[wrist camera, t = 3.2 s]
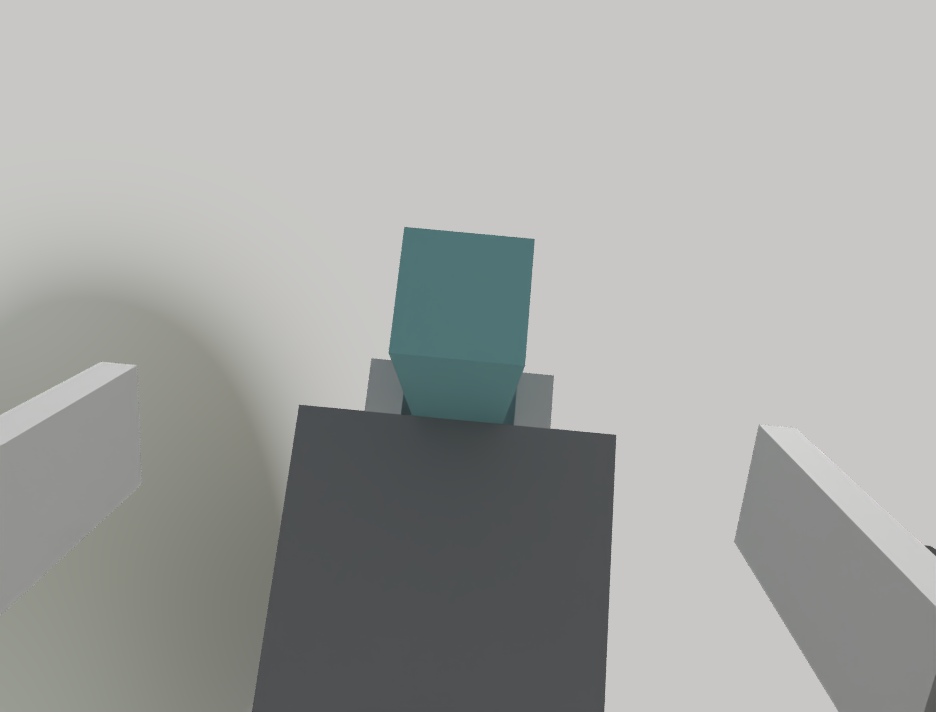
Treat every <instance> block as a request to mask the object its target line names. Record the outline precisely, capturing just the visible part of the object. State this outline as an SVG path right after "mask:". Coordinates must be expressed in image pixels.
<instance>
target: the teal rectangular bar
mask: <svg viewBox="0 0 936 712" xmlns="http://www.w3.org/2000/svg"><path fill="white" fill-rule="evenodd" d="M533 253H534V239H527V238H517V237H506V236H495V235H485V234H474V233H463V232H452V231H441V230H430V229H419V228H408V227H405V228H404V235H403V243H402V252H401V259H400V267H399V275H398V283H397V291H396V299H395V307H394V315H393V323H392V331H391V339H390V347H389V355H390V357H391V360H392V363H393V366H394V368H395V371H396V374H397V376H398V379H399V382H400V384H401V387H402V390H403V393H404V395H405V398H406V401H407V403H408V406H409V409H410V411H411V414H412V416H422V417H432V418H443V419H453V420H464V421H474V422H485V423H495V424H503V422H504V419H505V417H506V414H507V411H508V409H509V406H510V403H511V401H512V398H513V396H514V393H515V390H516V388H517V385H518V382H519V380H520V377H521V375H522V372H523V369H524V367H525V358H526V344H527V330H528V318H529V305H530V292H531V278H532V266H533Z"/></svg>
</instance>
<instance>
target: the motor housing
mask: <svg viewBox="0 0 936 712" xmlns="http://www.w3.org/2000/svg"><path fill="white" fill-rule="evenodd" d="M553 379H554V376H552V375H542V374H531V373H522V375H521V377H520V380H519V382H518V385H517V388H516V390H515V393H514V396H513V398H512V401H511V403H510V406H509V409H508V411H507V414H506V417H505V419H504V422H503V424H495V423H485V422H474V421H464V420H453V419H443V418H432V417H422V416H412V414H411V411H410V409H409V406H408V403H407V401H406V398H405V395H404V393H403V390H402V387H401V384H400V382H399V379H398V376H397V374H396V371H395V368H394V366H393V363H392V360H382V359H371V367H370V374H369V382H368V389H367V398H366V405H365V411H359V410H348V409H338V408H327V407H316V406H306V405H299V410H298V417H297V423H296V429H295V436H294V443H293V449H292V455H291V462H290V469H289V475H288V481H287V488H286V495H285V501H284V507H283V514H282V520H281V527H280V534H279V540H278V546H277V553H276V559H275V567H274V573H273V579H272V585H271V592H270V598H269V605H268V611H267V618H266V624H265V631H264V638H263V644H262V650H261V657H260V663H259V670H258V676H257V683H256V689H255V696H254V703H253V709H252V712H604V704H605V680H606V657H607V635H608V634H607V633H608V609H609V587H610V565H611V542H612V519H613V518H612V517H613V495H614V472H615V449H616V435H611V434H600V433H590V432H579V431H569V430H559V429H550V424H551V410H552V394H553Z"/></svg>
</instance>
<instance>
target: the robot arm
mask: <svg viewBox="0 0 936 712" xmlns="http://www.w3.org/2000/svg"><path fill="white" fill-rule="evenodd" d="M141 484H142V479H141V453H140V428H139V402H138V375H137V365H129V364H119V363H108V362H100V363H98V364H96V365H94V366H92V367H91V368H89V369H87V370H85V371H83V372H81V373H79V374H77V375H75V376H74V377H72V378H70V379H68V380H66V381H64V382H62V383H61V384H58V385H56V386H54V387H53V388H51V389H49V390H47V391H45V392H43V393H41V394H40V395H37V396H35V397H34V398H32V399H30V400H28V401H26V402H24V403H22V404H20V405H18V406H17V407H15V408H13V409H11V410H9V411H7V412H5V413H3V414H1V415H0V616H1V615H2V614H3V613H4V612H5V611H6V610H7V609H8V608H9V607H11V606H12V605H13V604H14V603H15V602H16V601H17V600H18V599H19V598H20V597H21V596H22V595H23V594H24V593H26V591H28V590H29V589H30V588H31V587H32V586H33V585H34V584H35V583H36V582H37V581H38V580H39V579H40V578H42V577H43V576H44V575H45V574H46V573H47V572H48V571H49V570H50V569H51V568H52V567H53V566H54V565H55V564H56V563H58V562H59V561H60V560H61V559H62V558H63V557H64V556H65V555H66V554H67V553H68V552H69V551H71V550H72V549H73V548H74V547H75V546H76V545H77V544H78V543H79V542H80V541H81V540H82V539H83V538H84V537H85V536H87V535H88V534H89V532H91V531H92V530H93V529H94V528H95V527H96V526H97V525H98V524H100V522H101V521H103V520H104V519H105V518H106V517H107V516H108V515H109V514H110V513H111V512H112V511H113V510H115V509H116V508H117V507H118V506H119V505H120V504H121V503H122V502H123V501H124V500H125V499H126V498H127V497H128V496H130V495H131V494H132V493H133V492H134V491H135V490H136V489H137V488H138V487H139V486H140V485H141ZM734 542H735V544H736V545H737V547H738V549H739V550H740V552H741V553H742V555H743V557H744V558H745V560H746V562H747V563H748V565H749V566H750V568H751V570H752V571H753V573H754V575H755V576H756V578H757V579H758V581H759V583H760V584H761V586H762V588H763V589H764V591H765V592H766V594H767V596H768V597H769V599H770V601H771V602H772V604H773V606H774V607H775V609H776V611H777V612H778V614H779V615H780V617H781V619H782V620H783V622H784V624H785V625H786V627H787V628H788V630H789V632H790V633H791V635H792V637H793V638H794V640H795V641H796V643H797V645H798V646H799V648H800V650H801V651H802V653H803V654H804V656H805V658H806V659H807V661H808V663H809V664H810V666H811V668H812V669H813V671H814V672H815V674H816V676H817V677H818V679H819V680H820V682H821V684H822V685H823V687H824V689H825V690H826V692H827V694H828V695H829V697H830V698H831V700H832V702H833V703H834V705H835V707H836V708H837V710H838V711H839V712H936V549H934V548H933V547H931V546H924V545H923V544H922V543H921V542H920V541H919V540H918V539H916V538H915V537H914V536H913V535H912V534H911V533H910V532H909V531H908V530H907V529H906V528H904V527H903V526H902V525H901V524H900V523H899V522H898V521H897V520H896V519H895V518H894V517H892V516H891V515H890V514H889V513H888V512H887V511H886V510H885V509H884V508H883V507H882V506H880V505H879V504H878V503H877V502H876V501H875V500H874V499H872V497H871V496H869V495H868V494H867V493H866V492H865V491H864V490H863V489H862V488H861V487H860V486H859V485H857V484H856V483H855V482H854V481H853V480H852V479H851V478H850V477H849V476H848V475H847V474H845V473H844V472H843V471H842V470H841V469H840V468H839V467H838V466H837V465H836V464H835V463H833V462H832V461H831V460H830V459H829V458H828V457H827V456H826V455H825V454H823V453H822V452H821V451H820V450H819V449H818V448H817V447H816V446H815V445H814V444H813V443H812V442H810V441H809V440H808V439H807V438H806V437H805V436H804V435H803V434H802V433H801V432H800V431H798V430H797V429H796V428H791V427H780V426H770V425H759V427H758V432H757V436H756V441H755V446H754V451H753V455H752V460H751V465H750V470H749V474H748V480H747V484H746V489H745V493H744V498H743V503H742V507H741V512H740V517H739V522H738V526H737V531H736V536H735V541H734Z"/></svg>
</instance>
